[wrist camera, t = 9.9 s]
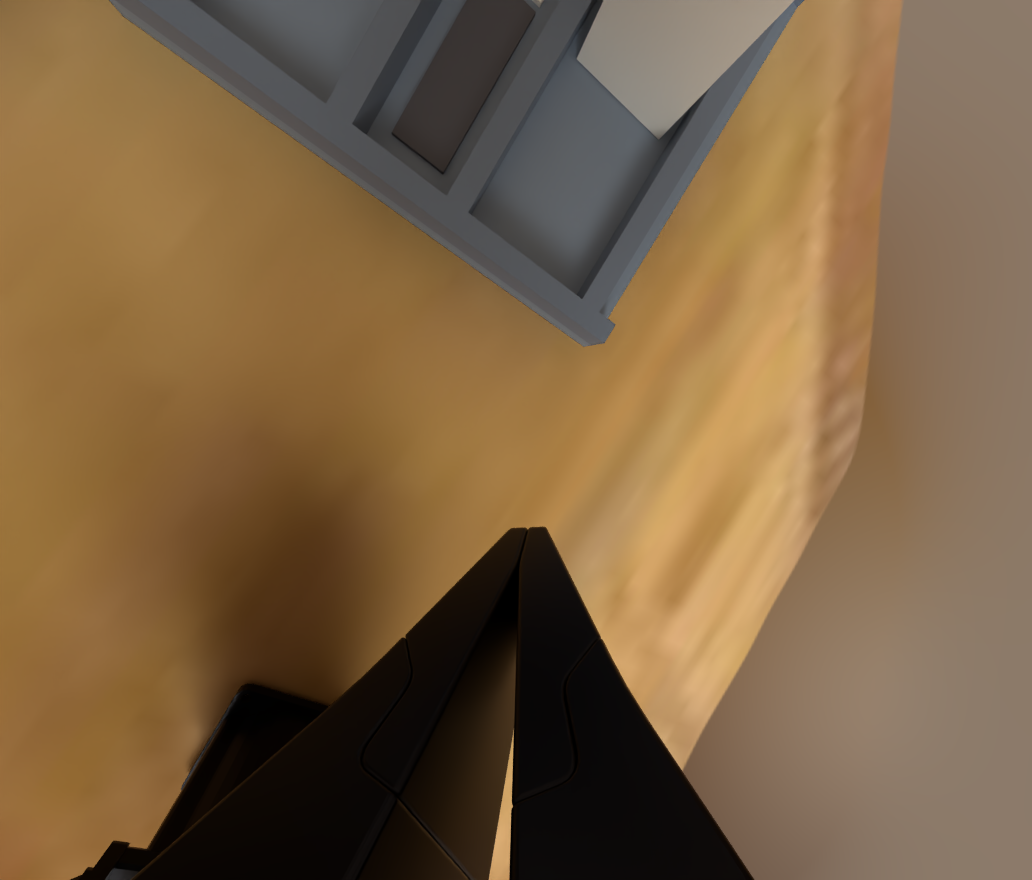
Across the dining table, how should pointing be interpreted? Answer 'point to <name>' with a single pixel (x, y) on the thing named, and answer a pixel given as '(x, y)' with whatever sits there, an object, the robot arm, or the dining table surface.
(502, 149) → the divided tray
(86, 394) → the dining table surface
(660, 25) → the light grey rectangular block
